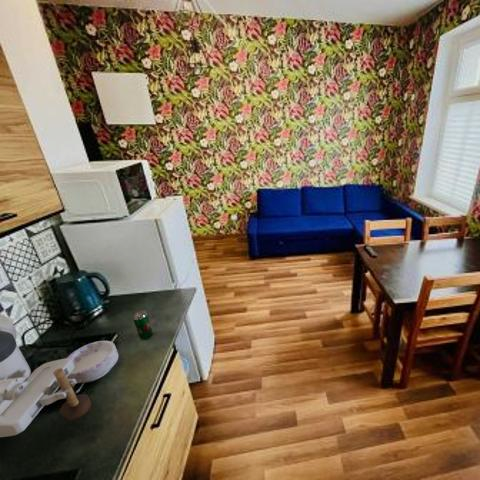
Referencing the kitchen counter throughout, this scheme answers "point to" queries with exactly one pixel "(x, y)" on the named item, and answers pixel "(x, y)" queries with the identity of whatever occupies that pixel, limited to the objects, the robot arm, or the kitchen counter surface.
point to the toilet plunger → (71, 399)
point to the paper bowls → (93, 361)
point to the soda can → (143, 325)
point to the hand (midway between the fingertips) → (70, 388)
